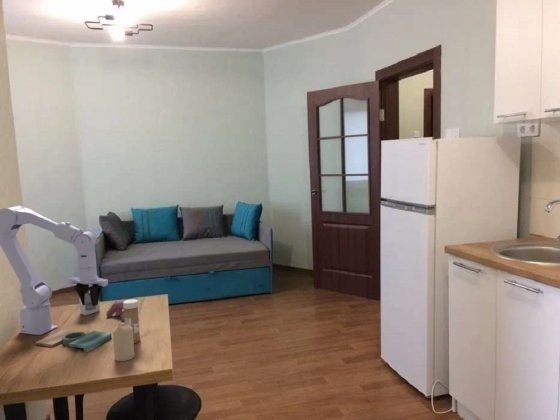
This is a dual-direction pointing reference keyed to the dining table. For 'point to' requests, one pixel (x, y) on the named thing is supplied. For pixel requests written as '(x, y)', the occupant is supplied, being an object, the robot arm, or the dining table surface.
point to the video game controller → (116, 309)
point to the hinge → (76, 339)
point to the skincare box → (87, 312)
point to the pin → (88, 301)
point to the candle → (123, 342)
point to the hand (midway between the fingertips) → (90, 304)
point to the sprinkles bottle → (132, 317)
